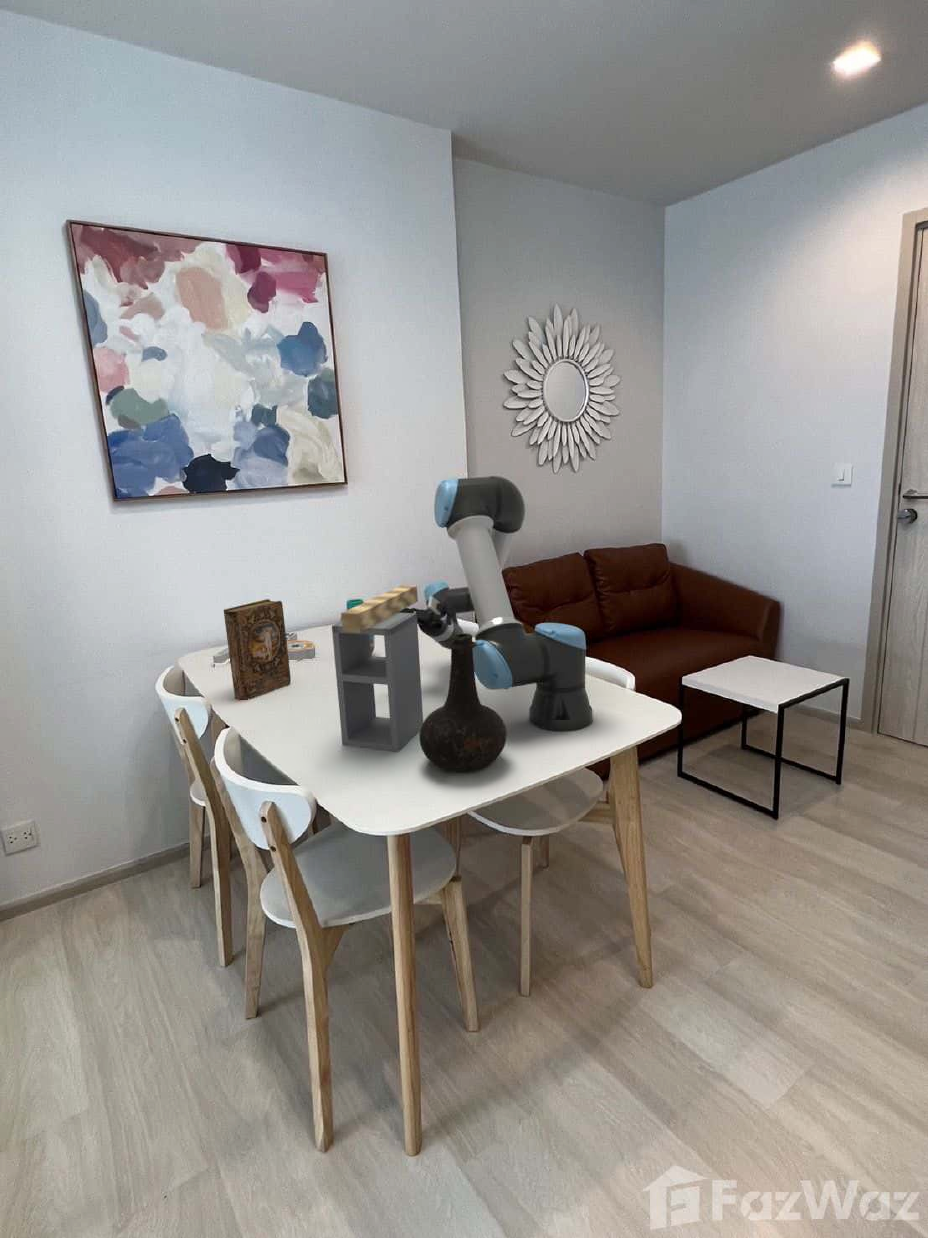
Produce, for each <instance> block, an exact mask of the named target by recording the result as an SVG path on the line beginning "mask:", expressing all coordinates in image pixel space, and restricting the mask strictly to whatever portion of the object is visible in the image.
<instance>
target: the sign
mask: <svg viewBox="0 0 928 1238" xmlns="http://www.w3.org/2000/svg"><path fill="white" fill-rule="evenodd" d="M285 632H286V640H287V649H288V658H289V660H303V659H308V658H309V659H312V658H315V659H316V656H315V654H316V646H315V645H316V644H315V643H314V641H312V640H308V639H307V640H306V639H305V640H304V639H301V640H300V639H298V634H297V633H298V632H287V631H285ZM212 657H213V658H212V659H213V664H214V663H223V662H225V661H226V660H227V659H229V658H230V656H229V648H228V647H226V648H224V649H222V650H221V651H218V652H216V653H215V654H213V655H212ZM309 659H308V660H309ZM312 660H313V659H312ZM303 661H304V660H303Z"/></svg>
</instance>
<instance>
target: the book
mask: <svg viewBox="0 0 928 1238" xmlns="http://www.w3.org/2000/svg"><path fill="white" fill-rule="evenodd" d="M284 614H285V613H284V607H283V602H282V600H277V601H272V600H270V599H269V598H267V599H262V600H259V601H255V602H250V603H246V604H241V605H237V606H233V607H229V608H225V609H223V616H224V623H225V630H226V631H225V632H226V640H227V648H229V656H230V662H229V663H230V669H231V677H232V678H231V679H232V686H233V687H232V688H233V692H234V693H233V694H234V699H235V700H236V699H239V700H248V699H250V700H253V699H255V697H256V698H258V697H261V696H263V695H265V694H268V692H269V693H270V692H273V690H274V691H276V690H275V689H277V690H279V689H281V688H283V687H286V686H288V685H290V684H291V677H292V676H291V667H290V662H289V658H288V649H287V640H286V632H287V631H286V626H285V624H286V623H285V615H284ZM262 694H263V695H262ZM260 695H261V696H260ZM257 696H258V697H257ZM252 698H253V699H252ZM239 700H238V701H239ZM248 701H249V700H248Z"/></svg>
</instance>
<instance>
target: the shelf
mask: <svg viewBox="0 0 928 1238" xmlns="http://www.w3.org/2000/svg"><path fill="white" fill-rule="evenodd" d="M415 613H416V612H414V613H395V614H394V615H392V616H390V617H388V618H386V619H384V620H383V621H381V622H379V623H377V624H375V625H373V626H371V627H370V628H368V629H366V630H364V631H362V632H360V633H355V632H343V629H342V621H341V620H340V621H341V622H340V621H338V622H337V623H334V624H333V625H331V631H332V644H333V654H334V664H335V667H334V668H335V676H336V678H335V679H336V687H337V698H338V699H337V700H338V709H339V710H338V711H339V722H340V732H341V744H342V746H347V747H355V748H363V749H371V750H379V751H387V752H393V753H394V752H395V753H399V752H400V751H401V750H402V749H403V748H404V747H405V746H407V744H408V743H409V742H410V741H412V739H413V738H414V737H415V736H416V735H417V734H419V733H420V730H421V727H422V724H423V722H424V714H423V713H424V712H423V697H422V682H421V681H422V680H421V664H420V663H421V661H420V660H421V659H420V648H419V647H420V646H419V630H418V629H419V625H418V624H417V614H415ZM370 635H374V636H383V641H384V654H385V656H377V655H372V654H371V642H370ZM375 684H376V685H385V686H387V696H388V710H389V713H388V714H389V717H384V716H383V717H382V716H377V710H376V695H375Z"/></svg>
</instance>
